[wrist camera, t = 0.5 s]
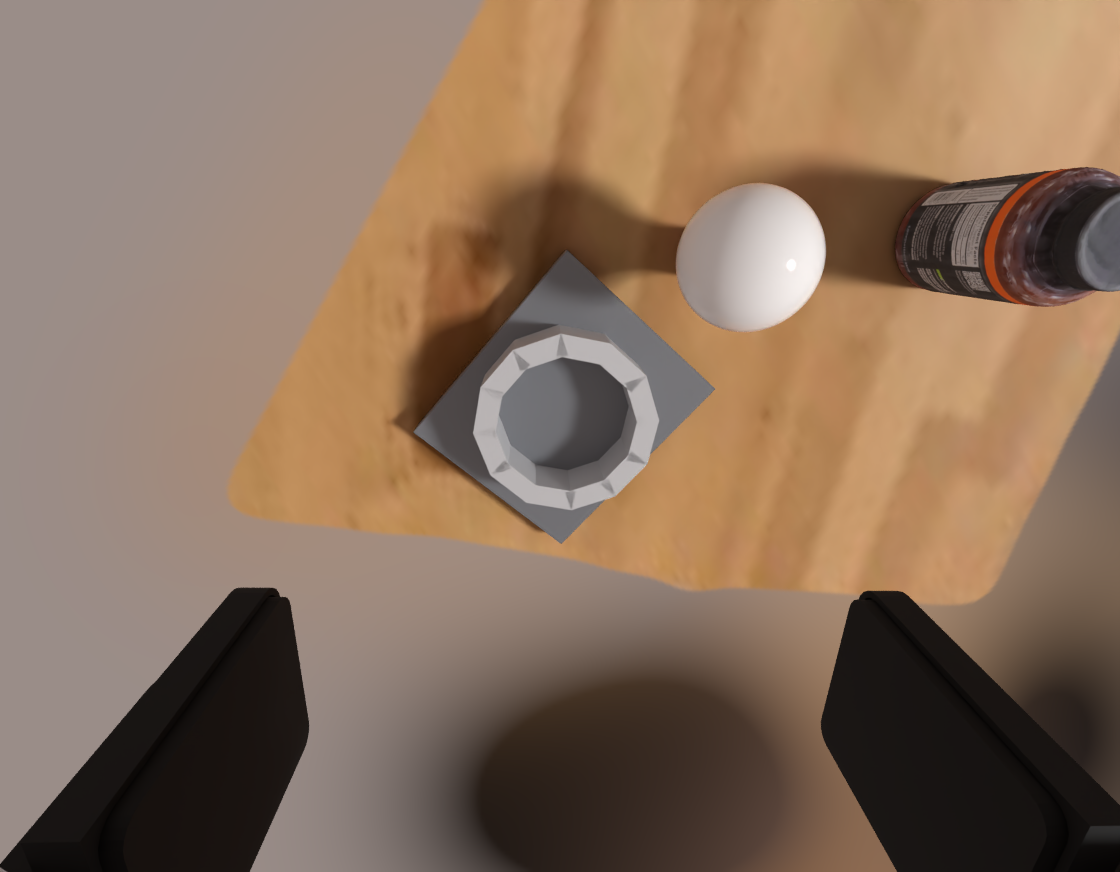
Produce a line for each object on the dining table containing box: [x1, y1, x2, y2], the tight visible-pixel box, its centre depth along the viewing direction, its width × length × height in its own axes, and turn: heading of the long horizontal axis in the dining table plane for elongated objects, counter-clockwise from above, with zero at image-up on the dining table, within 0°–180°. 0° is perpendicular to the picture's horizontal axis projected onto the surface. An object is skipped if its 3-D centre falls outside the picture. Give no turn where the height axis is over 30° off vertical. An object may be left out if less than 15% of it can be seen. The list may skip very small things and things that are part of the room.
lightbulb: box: [676, 183, 826, 332], centre depth 28 cm, size 6×6×11 cm
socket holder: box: [414, 250, 715, 544], centre depth 33 cm, size 14×12×4 cm
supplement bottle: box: [895, 167, 1120, 307], centre depth 28 cm, size 6×6×11 cm
